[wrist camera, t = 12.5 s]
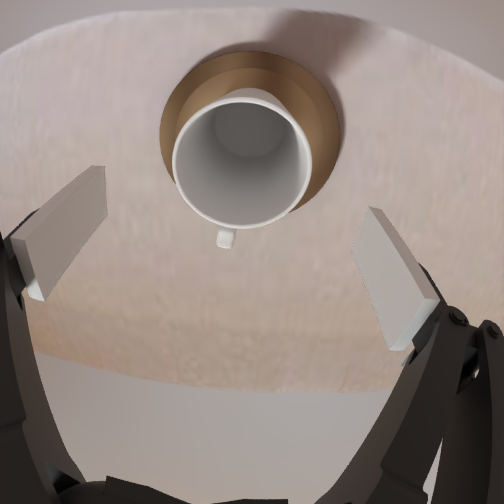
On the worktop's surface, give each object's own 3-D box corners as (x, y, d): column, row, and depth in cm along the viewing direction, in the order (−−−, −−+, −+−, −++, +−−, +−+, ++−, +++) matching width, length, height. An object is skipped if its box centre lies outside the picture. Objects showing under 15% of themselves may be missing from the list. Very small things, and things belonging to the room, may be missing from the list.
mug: (218, 77, 21) (183, 85, 11) (298, 95, 22) (330, 117, 12) (198, 184, 27) (162, 262, 17) (269, 199, 28) (273, 285, 18)
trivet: (159, 203, 29) (156, 208, 28) (172, 44, 20) (169, 43, 19) (313, 227, 31) (314, 233, 30) (355, 75, 21) (359, 75, 21)
